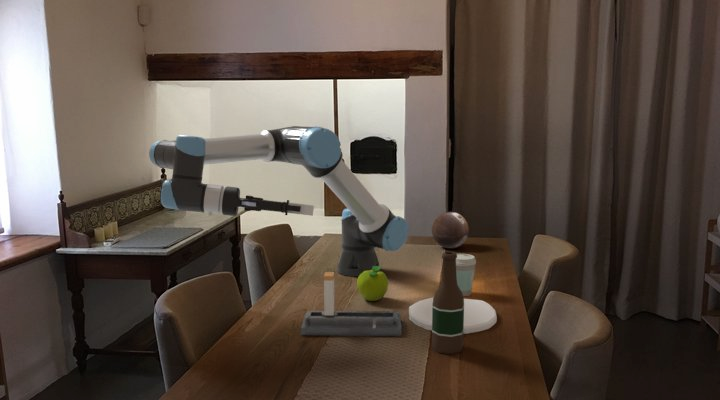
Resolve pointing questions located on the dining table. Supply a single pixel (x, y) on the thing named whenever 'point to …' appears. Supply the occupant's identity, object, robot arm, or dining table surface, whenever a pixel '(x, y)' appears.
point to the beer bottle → (448, 310)
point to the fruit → (372, 284)
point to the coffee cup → (465, 272)
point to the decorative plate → (475, 315)
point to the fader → (329, 295)
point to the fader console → (352, 323)
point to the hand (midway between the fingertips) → (313, 210)
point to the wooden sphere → (450, 230)
